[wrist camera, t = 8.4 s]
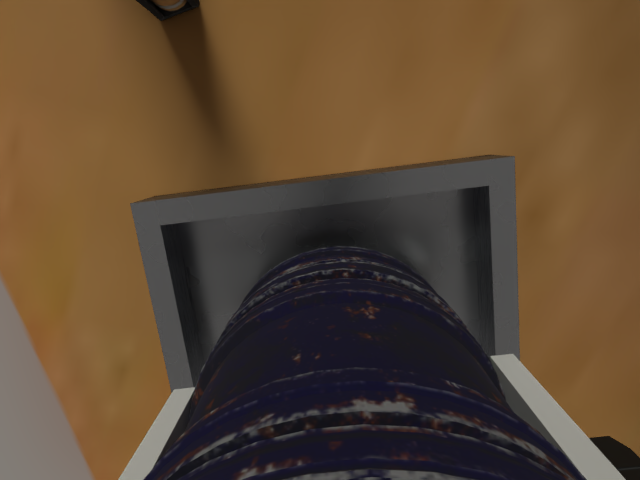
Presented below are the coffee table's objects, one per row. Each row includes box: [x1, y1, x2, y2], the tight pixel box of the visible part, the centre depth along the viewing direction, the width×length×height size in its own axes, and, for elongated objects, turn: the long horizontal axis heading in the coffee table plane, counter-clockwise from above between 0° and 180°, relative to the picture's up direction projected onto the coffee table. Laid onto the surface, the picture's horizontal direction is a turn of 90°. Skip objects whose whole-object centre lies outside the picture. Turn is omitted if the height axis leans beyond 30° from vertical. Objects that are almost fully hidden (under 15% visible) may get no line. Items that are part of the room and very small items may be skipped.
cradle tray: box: [130, 155, 520, 392], centre depth 19 cm, size 15×15×2 cm
